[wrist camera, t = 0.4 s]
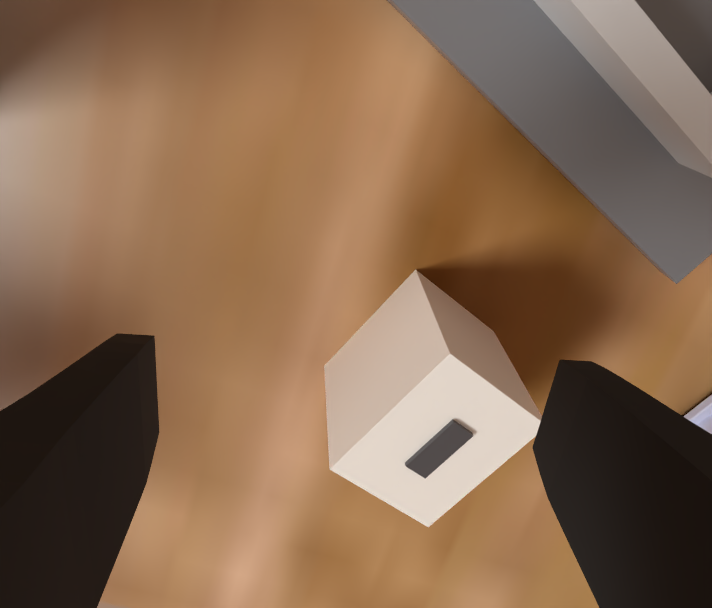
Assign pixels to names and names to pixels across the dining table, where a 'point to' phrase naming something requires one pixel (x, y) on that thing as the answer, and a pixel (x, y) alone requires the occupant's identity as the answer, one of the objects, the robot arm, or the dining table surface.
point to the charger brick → (424, 403)
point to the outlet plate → (601, 102)
